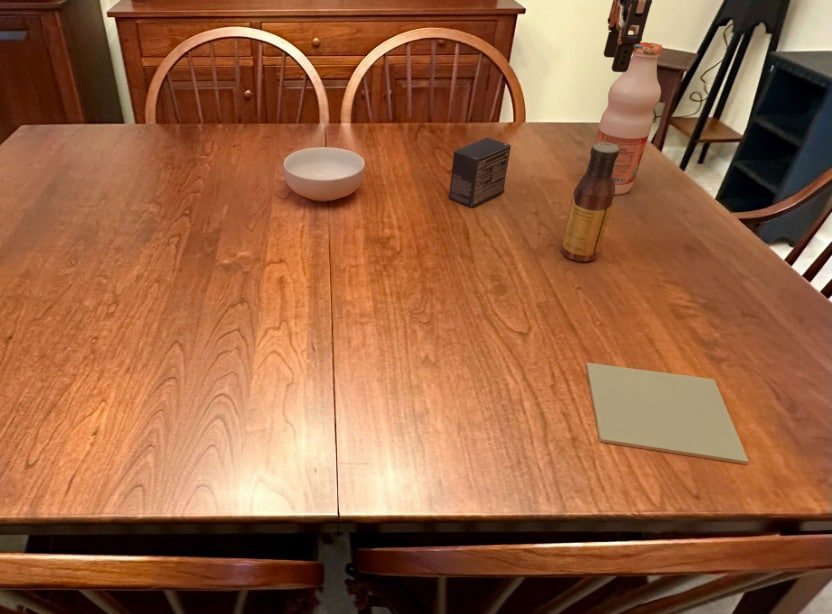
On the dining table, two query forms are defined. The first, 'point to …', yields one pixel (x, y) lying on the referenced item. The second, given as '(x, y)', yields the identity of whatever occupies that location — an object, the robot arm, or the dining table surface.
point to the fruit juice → (631, 113)
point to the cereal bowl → (324, 172)
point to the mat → (663, 413)
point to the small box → (479, 172)
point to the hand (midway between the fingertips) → (614, 63)
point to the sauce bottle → (591, 205)
